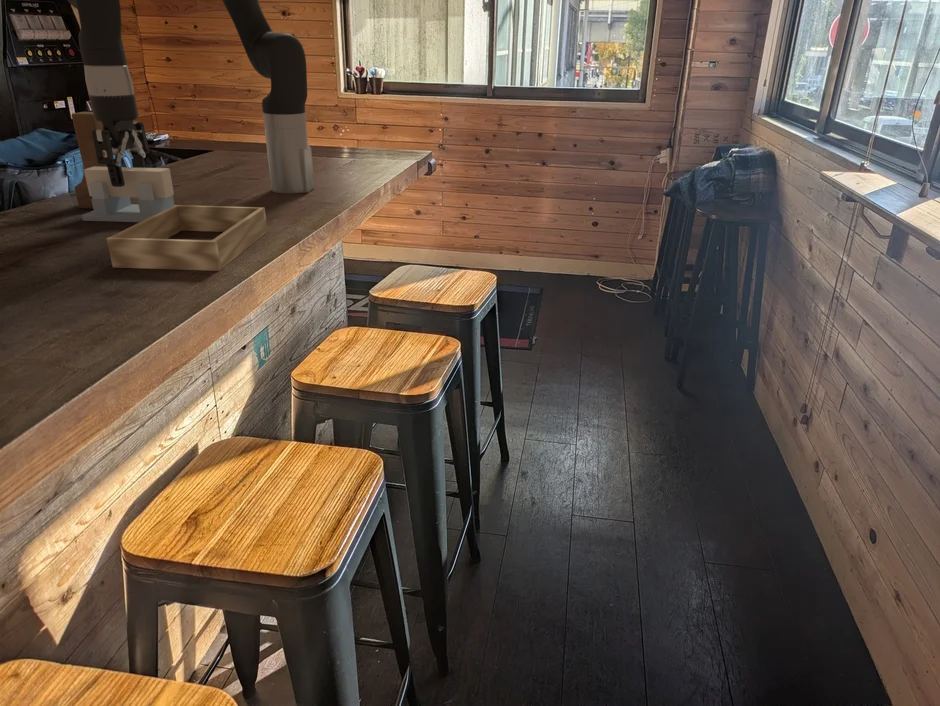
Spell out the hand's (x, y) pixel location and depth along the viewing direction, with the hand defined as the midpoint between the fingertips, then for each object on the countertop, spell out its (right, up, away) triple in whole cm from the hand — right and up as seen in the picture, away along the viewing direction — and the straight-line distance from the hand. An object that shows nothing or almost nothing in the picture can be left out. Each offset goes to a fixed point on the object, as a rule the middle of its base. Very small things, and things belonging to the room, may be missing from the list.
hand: (130, 182), depth 126 cm
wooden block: (-12, -2, +11) cm, 16 cm away
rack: (0, -6, +3) cm, 7 cm away
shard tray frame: (+20, -15, -16) cm, 30 cm away
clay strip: (0, -2, +1) cm, 3 cm away
